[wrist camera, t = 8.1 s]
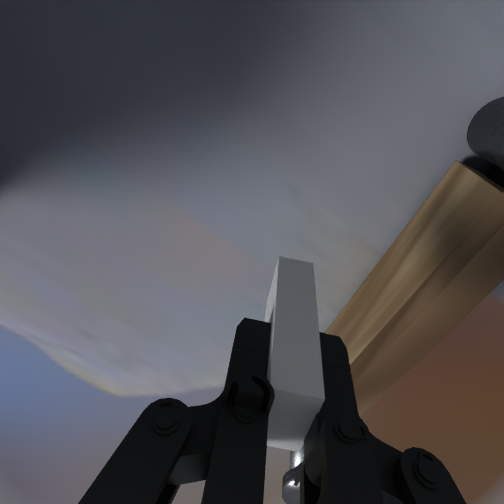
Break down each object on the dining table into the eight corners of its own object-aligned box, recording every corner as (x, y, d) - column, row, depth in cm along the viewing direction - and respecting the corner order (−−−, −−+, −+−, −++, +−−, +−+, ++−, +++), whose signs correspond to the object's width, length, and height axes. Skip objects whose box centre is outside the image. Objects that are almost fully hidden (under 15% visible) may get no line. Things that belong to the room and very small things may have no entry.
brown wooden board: (312, 343, 28) (314, 425, 22) (455, 154, 19) (526, 201, 13) (332, 352, 28) (339, 435, 22) (482, 167, 19) (565, 220, 13)
